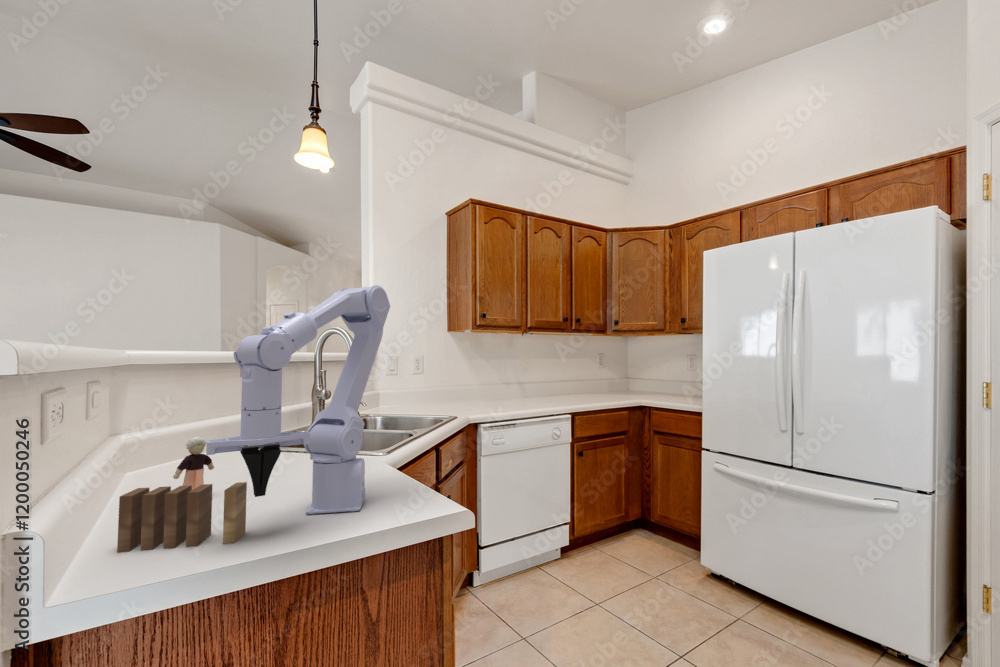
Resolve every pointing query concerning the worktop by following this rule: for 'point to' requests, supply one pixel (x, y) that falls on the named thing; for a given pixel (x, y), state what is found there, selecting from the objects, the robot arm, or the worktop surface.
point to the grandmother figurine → (194, 463)
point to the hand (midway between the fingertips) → (259, 494)
